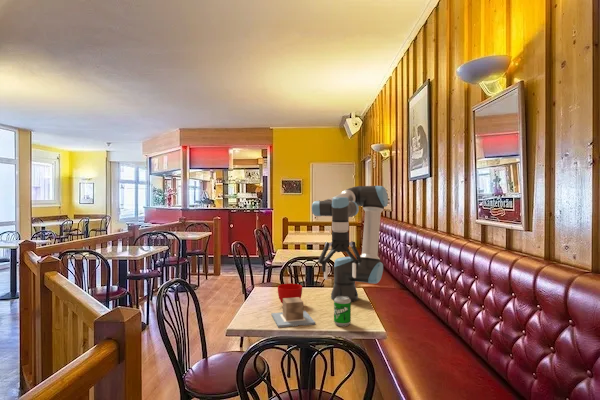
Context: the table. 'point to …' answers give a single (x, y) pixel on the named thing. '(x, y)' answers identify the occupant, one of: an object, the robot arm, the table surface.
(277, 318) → the baseplate
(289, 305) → the walnut block
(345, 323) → the soda can
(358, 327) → the table surface
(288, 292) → the ceramic cup
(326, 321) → the table surface
